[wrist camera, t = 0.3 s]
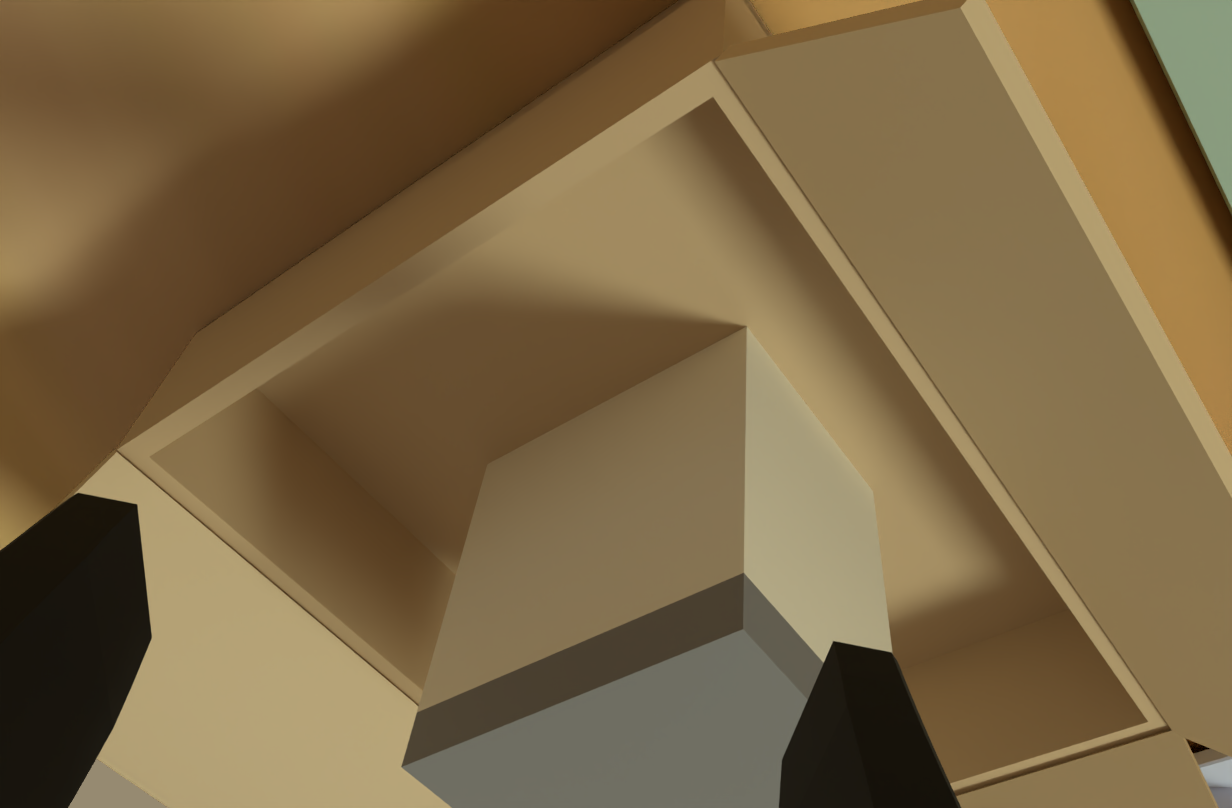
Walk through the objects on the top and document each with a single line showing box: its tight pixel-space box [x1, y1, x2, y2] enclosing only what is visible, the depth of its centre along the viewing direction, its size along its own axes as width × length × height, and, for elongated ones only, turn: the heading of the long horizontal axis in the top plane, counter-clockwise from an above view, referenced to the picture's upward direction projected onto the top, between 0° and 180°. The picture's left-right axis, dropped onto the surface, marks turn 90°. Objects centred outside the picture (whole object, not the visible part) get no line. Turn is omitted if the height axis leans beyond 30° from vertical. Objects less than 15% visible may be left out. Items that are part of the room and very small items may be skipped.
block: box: [401, 326, 893, 808], centre depth 20 cm, size 4×6×7 cm
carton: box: [52, 0, 1232, 808], centre depth 21 cm, size 18×18×6 cm
